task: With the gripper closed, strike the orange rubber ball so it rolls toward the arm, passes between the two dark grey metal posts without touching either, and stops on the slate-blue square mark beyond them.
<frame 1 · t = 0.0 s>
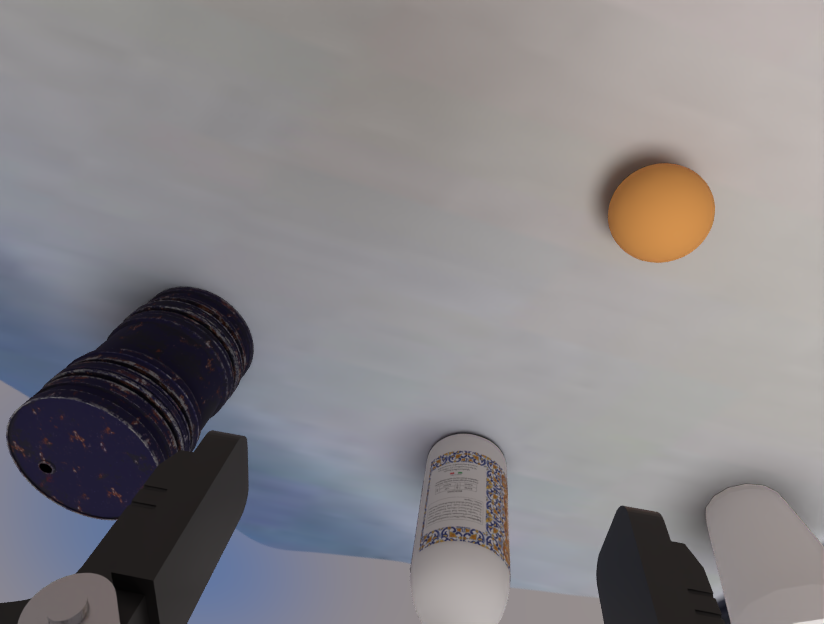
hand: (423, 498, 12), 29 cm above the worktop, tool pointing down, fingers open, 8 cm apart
ball: (659, 213, 35), on the worktop
bath foam: (466, 460, 50), on the worktop
foam cup: (743, 509, 48), on the worktop
storage jar: (199, 337, 47), on the worktop
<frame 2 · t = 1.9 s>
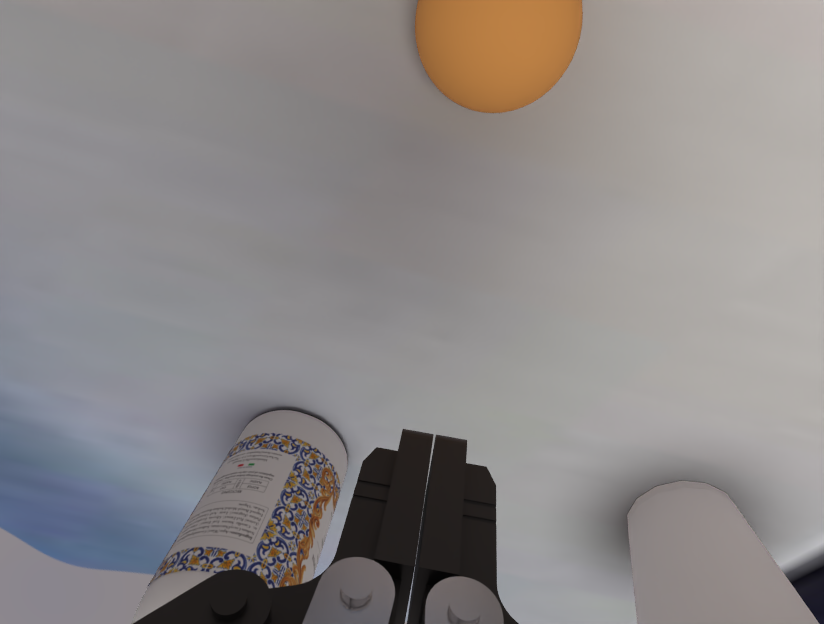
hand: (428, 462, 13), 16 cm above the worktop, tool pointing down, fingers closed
ball: (496, 26, 21), on the worktop
bath foam: (296, 448, 36), on the worktop
foam cup: (680, 517, 34), on the worktop
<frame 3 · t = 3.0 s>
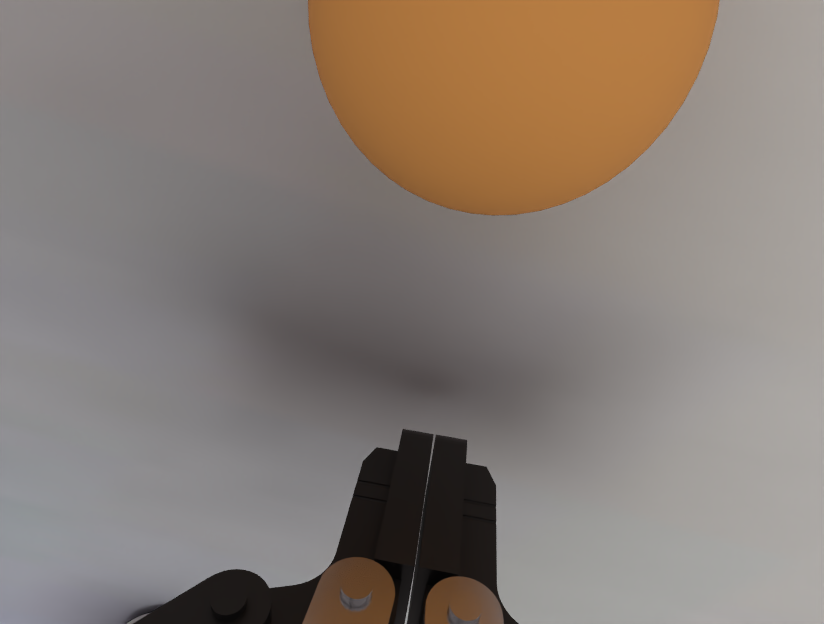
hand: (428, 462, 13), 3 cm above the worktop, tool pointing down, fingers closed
ball: (503, 20, 9), on the worktop
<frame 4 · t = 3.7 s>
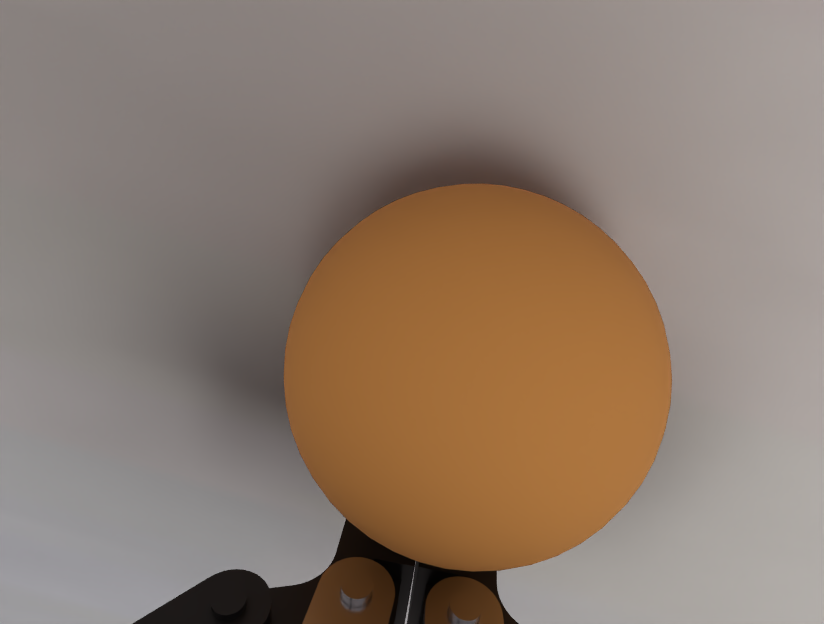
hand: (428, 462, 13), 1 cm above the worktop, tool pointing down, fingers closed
ball: (470, 370, 9), on the worktop, touching gripper
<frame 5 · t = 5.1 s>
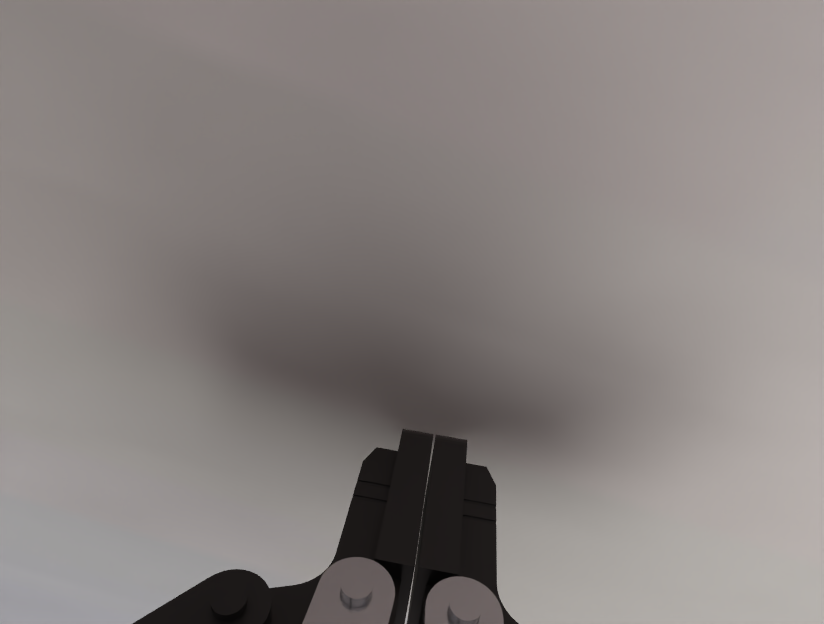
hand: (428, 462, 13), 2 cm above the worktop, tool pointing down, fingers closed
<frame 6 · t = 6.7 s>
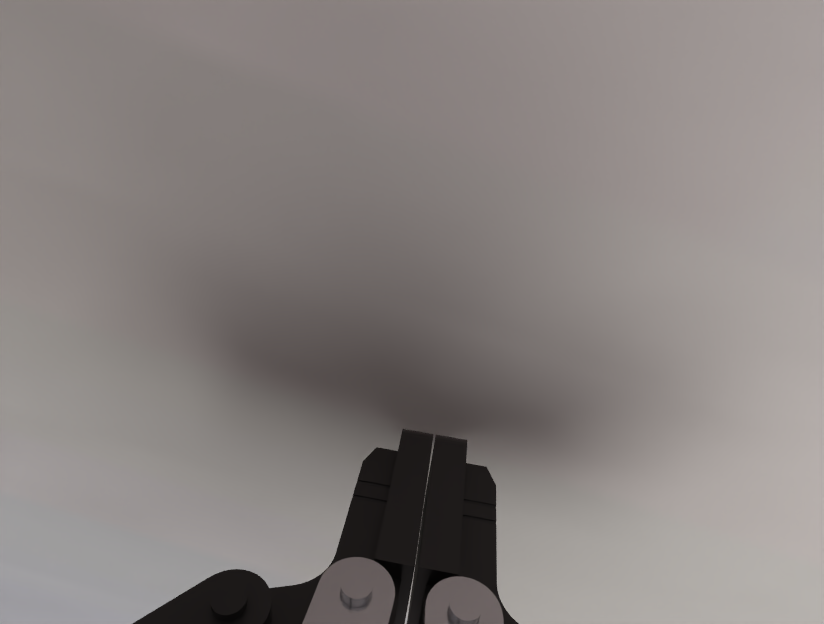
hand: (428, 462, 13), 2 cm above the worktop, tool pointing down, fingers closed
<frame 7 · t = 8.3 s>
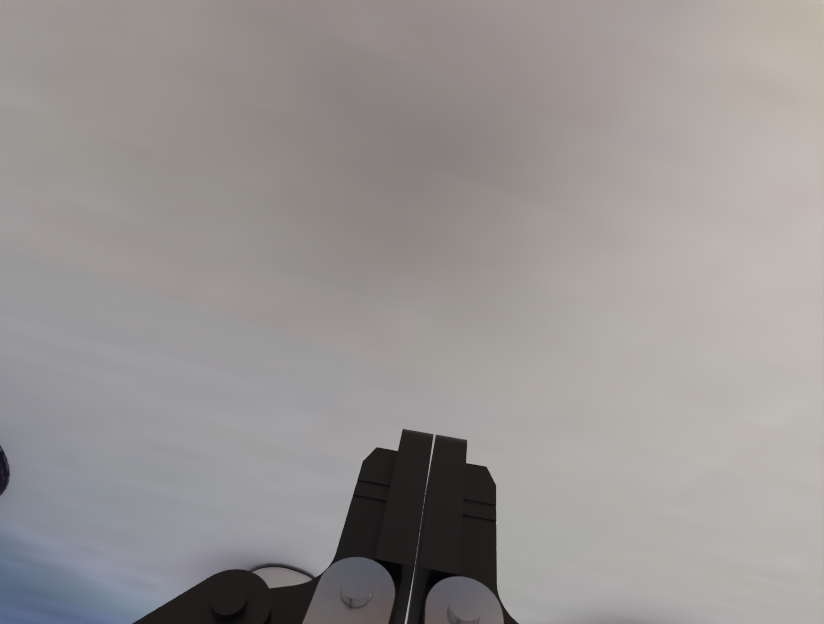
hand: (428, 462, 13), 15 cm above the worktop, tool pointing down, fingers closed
bath foam: (287, 594, 40), on the worktop
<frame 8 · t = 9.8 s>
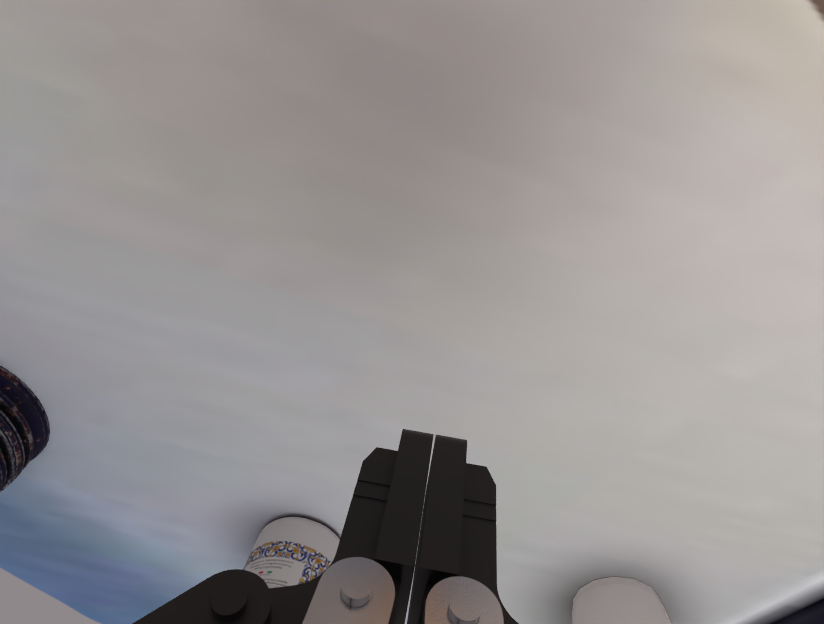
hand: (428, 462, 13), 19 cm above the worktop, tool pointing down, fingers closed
bath foam: (304, 543, 44), on the worktop
foam cup: (615, 603, 42), on the worktop
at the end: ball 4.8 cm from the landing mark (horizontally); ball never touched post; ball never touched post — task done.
